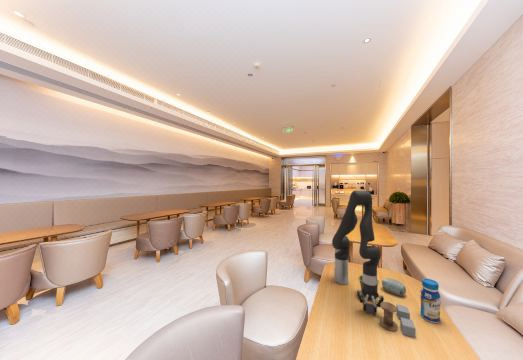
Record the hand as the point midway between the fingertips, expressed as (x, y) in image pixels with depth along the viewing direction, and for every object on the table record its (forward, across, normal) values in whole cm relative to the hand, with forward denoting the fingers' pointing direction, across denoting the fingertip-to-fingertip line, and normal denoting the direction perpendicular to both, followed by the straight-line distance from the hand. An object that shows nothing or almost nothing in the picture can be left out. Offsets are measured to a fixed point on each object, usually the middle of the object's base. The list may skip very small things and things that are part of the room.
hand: (369, 311), depth 111 cm
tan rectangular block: (+1, 0, 0) cm, 1 cm away
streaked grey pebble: (+1, +15, +29) cm, 33 cm away
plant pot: (+1, 0, +16) cm, 16 cm away
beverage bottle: (+1, +29, +9) cm, 30 cm away
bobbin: (0, +8, -7) cm, 11 cm away
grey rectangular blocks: (+1, +16, -2) cm, 16 cm away
